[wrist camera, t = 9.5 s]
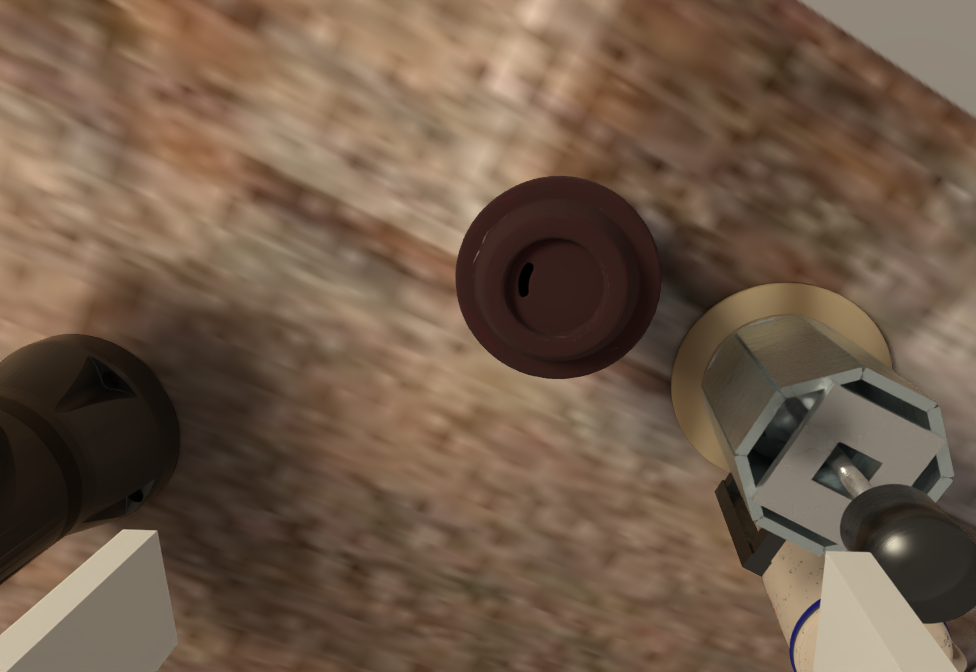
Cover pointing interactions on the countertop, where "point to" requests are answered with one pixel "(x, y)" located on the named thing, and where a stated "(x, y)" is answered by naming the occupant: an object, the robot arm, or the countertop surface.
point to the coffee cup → (558, 277)
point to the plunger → (893, 527)
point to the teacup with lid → (817, 606)
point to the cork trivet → (740, 312)
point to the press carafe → (812, 433)
